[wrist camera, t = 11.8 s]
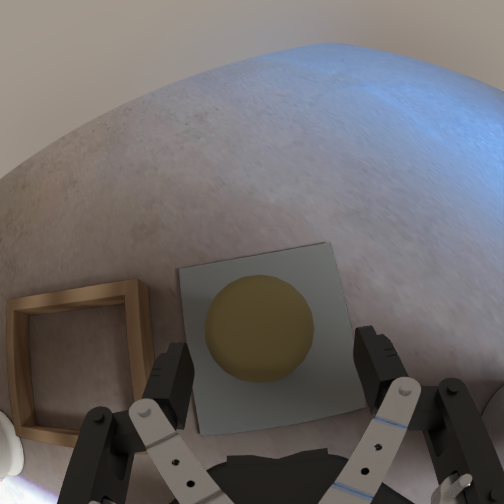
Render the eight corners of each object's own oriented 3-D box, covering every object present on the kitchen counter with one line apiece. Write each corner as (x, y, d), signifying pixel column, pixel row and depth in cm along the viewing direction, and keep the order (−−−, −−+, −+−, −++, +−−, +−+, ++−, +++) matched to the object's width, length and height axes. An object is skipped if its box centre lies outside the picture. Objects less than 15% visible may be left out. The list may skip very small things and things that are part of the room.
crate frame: (148, 286, 26) (137, 278, 23) (168, 447, 21) (158, 454, 18) (22, 305, 26) (7, 299, 24) (31, 434, 21) (15, 436, 18)
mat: (329, 244, 26) (330, 242, 26) (364, 406, 21) (366, 407, 21) (180, 270, 26) (178, 268, 26) (201, 434, 21) (200, 435, 21)
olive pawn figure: (314, 319, 23) (344, 279, 13) (288, 392, 21) (302, 412, 11) (241, 295, 25) (217, 240, 14) (214, 366, 23) (167, 363, 12)
